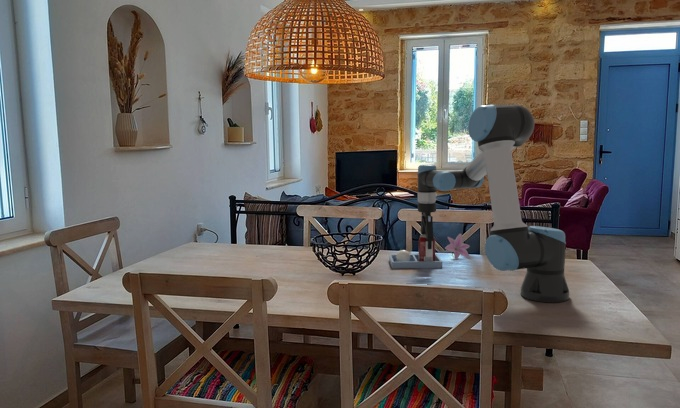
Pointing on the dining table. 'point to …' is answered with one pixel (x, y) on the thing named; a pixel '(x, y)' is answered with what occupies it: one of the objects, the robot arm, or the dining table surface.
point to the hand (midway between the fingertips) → (426, 253)
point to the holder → (415, 262)
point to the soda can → (423, 249)
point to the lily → (458, 247)
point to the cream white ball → (403, 256)
